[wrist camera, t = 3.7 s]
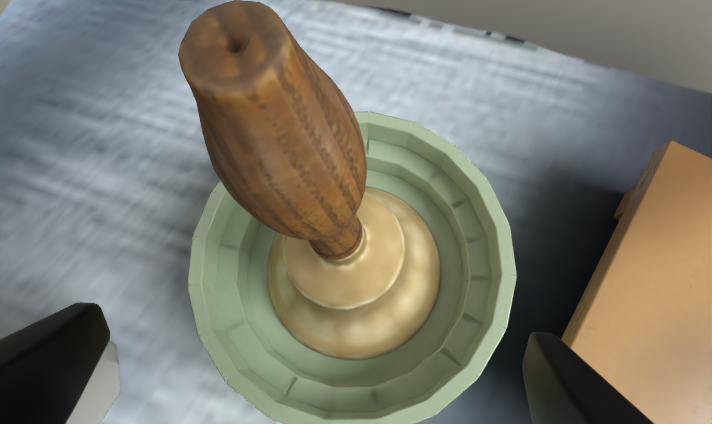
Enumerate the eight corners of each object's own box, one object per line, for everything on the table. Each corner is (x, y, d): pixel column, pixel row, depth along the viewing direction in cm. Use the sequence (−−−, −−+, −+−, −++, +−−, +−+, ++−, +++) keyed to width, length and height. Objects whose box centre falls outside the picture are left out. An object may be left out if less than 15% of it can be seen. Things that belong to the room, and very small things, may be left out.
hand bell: (395, 395, 18) (456, 689, 3) (236, 308, 20) (-278, 195, 4) (468, 229, 20) (735, -126, 5) (318, 162, 22) (161, -264, 6)
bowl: (553, 294, 19) (588, 284, 16) (323, 488, 17) (309, 523, 14) (377, 102, 23) (375, 61, 19) (173, 246, 21) (132, 228, 18)
